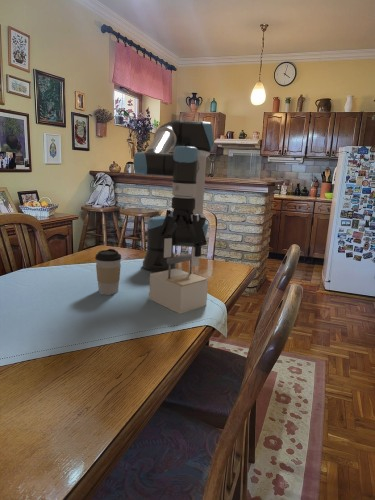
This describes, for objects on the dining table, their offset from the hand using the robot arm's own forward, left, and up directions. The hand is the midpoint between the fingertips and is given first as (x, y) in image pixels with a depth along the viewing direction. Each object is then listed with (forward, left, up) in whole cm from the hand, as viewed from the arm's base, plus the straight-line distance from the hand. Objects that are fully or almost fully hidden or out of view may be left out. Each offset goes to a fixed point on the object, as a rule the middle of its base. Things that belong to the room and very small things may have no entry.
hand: (180, 261), depth 118 cm
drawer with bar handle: (0, +3, -6) cm, 6 cm away
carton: (0, -1, -15) cm, 15 cm away
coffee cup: (+13, -23, -15) cm, 31 cm away
